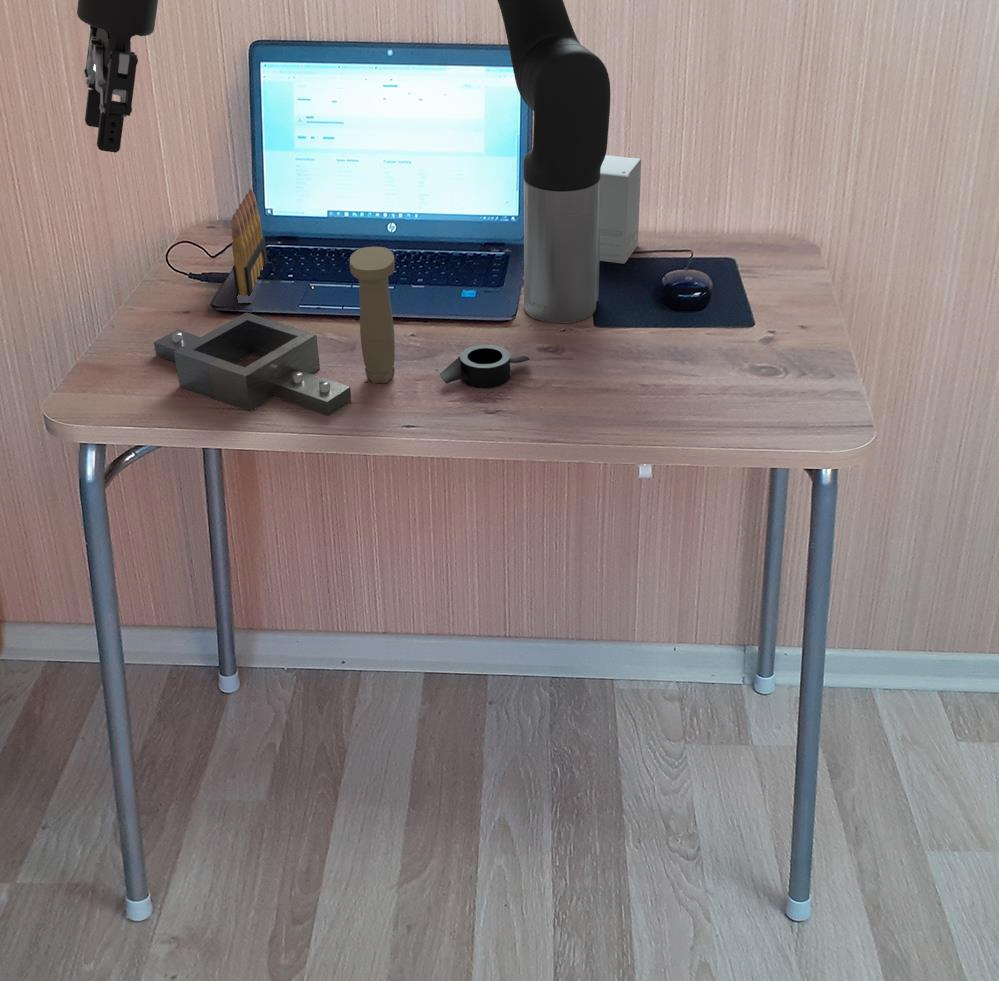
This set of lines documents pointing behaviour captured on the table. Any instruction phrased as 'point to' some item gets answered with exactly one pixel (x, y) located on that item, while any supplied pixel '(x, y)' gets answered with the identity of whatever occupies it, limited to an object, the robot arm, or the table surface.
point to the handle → (375, 311)
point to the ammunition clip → (247, 245)
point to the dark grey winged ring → (482, 367)
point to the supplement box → (619, 207)
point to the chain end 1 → (215, 349)
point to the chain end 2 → (280, 376)
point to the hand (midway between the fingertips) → (101, 138)
